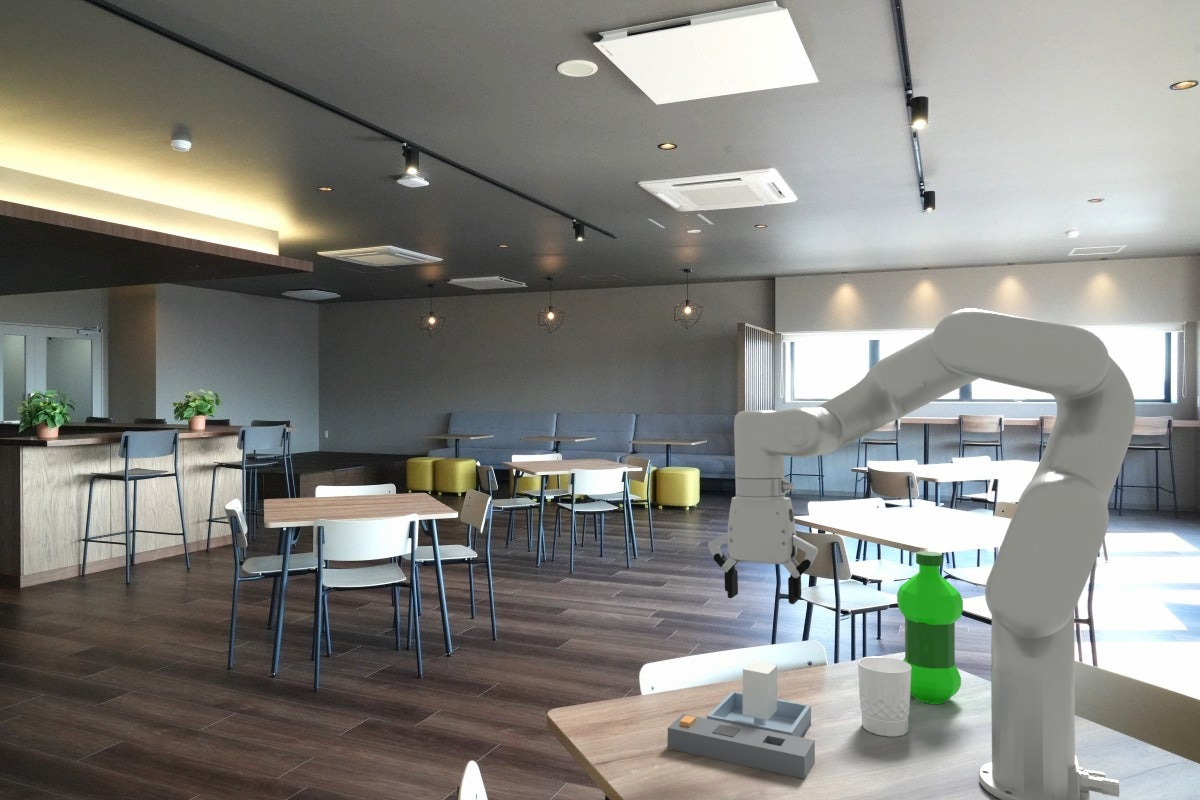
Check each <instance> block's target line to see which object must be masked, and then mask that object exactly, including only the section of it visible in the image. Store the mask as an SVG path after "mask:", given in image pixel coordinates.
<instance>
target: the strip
mask: <svg viewBox="0 0 1200 800" xmlns="http://www.w3.org/2000/svg"><path fill="white" fill-rule="evenodd" d="M815 744H816V743H815V739H811V738H806V737H797V736H792V735H787V734H782V733H777V732H772V731H767V730H762V729H756V728H751V727H746V726H741V725H736V724H731V723H726V722H721V721H716V720H711V719H707V717H701V716H694V715H691V714H686V713H682V714H681V715H680V716H679V717H677V719H676V720H674V721H673V722H672V723H671V724H670V725H669V726H668V727H667V749H668V748H671V749H670V750H673V749H675V750H674V751H678V752H681V753H682V752H683V753H686V754H687V753H688V754H692V755H695V756H700V757H705V758H709V759H713V760H718V761H721V762H727V763H732V764H736V765H740V766H745V767H747V768H748V767H749V768H753V769H759V770H764V771H766V772H771V773H776V774H781V775H784V776H789V777H793V778H797V779H803V780H805V779H807V778H806V777H807V776H808V775H809V773H810V771H811V769H812V767H813V765H814V764H815V762H816V755H815V754H816V753H815V750H816V745H815Z"/></svg>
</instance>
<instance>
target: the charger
mask: <svg viewBox="0 0 1200 800" xmlns="http://www.w3.org/2000/svg"><path fill="white" fill-rule="evenodd" d="M742 693H743V715H746V716H751V717H754V724H759V725H764V726H765V725H766V720H768V719H769V718H770V717H771V716H772V715H773V714H774V713H775V712H776V711H777V699H778V664H777V665H776V664H770V663H768V662H767V663H765V662H762V661H761V662H760V661H755V660H752V661H751V662H749V664H747V665H746V666H745V667H744V668H743V669H742Z"/></svg>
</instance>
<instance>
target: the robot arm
mask: <svg viewBox="0 0 1200 800" xmlns="http://www.w3.org/2000/svg"><path fill="white" fill-rule="evenodd" d="M979 379H982V380H987V381H990V382H995V383H1000V384H1003V385H1004V384H1005V385H1009V386H1013V387H1017V388H1018V387H1019V388H1022V389H1023V388H1024V389H1028V390H1033V391H1036V392H1042V393H1045V394H1050V395H1051V396H1052V397H1053V398H1054V400H1055V402H1056V417H1055V421H1054V423H1053V426H1052V429H1051V431H1050V434H1049V436H1048V439H1047V443H1046V446H1045V449H1044V451H1043V453H1042V456H1041V459H1040V461H1039V463H1038V466H1037V468H1036V470H1035V472H1034V474H1033V477H1032V479H1031V481H1030V482H1029V483H1028V485H1027V486H1025V488H1024V490H1023V491H1022V493H1021V495H1020V498H1019V499H1018V502H1017V504H1016V506H1015V510H1014V512H1013V514H1012V517H1011V520H1010V522H1009V524H1008V527H1007V529H1006V532H1005V535H1004V538H1003V540H1002V543H1001V545H1000V547H999V550H998V553H997V555H996V556H995V557H996V558H995V560H994V563H993V565H992V568H991V570H990V572H989V575H988V577H987V580H986V582H985V588H984V592H985V593H984V595H985V596H984V597H985V602H986V605H987V608H988V610H989V612H990V615H991V635H990V636H991V647H990V648H991V658H990V659H991V664H990V665H991V666H990V671H991V672H990V673H991V674H990V676H991V679H990V682H991V689H990V690H991V692H990V695H991V698H990V699H991V704H990V706H991V762H987V763H984V764H983V765H982V766H981V767H980V768H979V770H978V779H979V783H980V784H981V786H982V788H983V789H985V790H986V791H987V792H988V793H989V794H991V795H993V796H994V797H995V798H997V799H999V800H1091V797H1090V792H1095V793H1100V794H1102V795H1106V796H1110V797H1115V798H1120V783H1119V780H1117V779H1111V778H1106V773H1105V772H1103V771H1098V770H1090V769H1084V766H1082V765H1081V766H1080V765H1079V762H1078V757H1077V756H1078V755H1076V733H1075V732H1076V730H1075V728H1076V727H1075V726H1076V725H1075V724H1076V723H1075V722H1076V721H1075V720H1076V719H1075V717H1076V715H1075V714H1076V712H1075V711H1076V709H1075V708H1076V707H1075V705H1076V703H1075V701H1076V700H1075V677H1076V676H1075V673H1076V670H1075V667H1076V666H1075V665H1076V664H1075V659H1076V657H1075V610H1076V607H1077V605H1078V603H1079V601H1080V597H1081V596H1082V593H1083V591H1084V588H1085V586H1086V584H1087V582H1088V579H1089V577H1090V574H1091V572H1092V570H1093V567H1094V565H1095V562H1096V560H1097V557H1098V555H1099V553H1100V551H1101V548H1102V546H1103V543H1104V541H1105V537H1106V535H1107V531H1108V528H1109V523H1110V520H1109V519H1110V513H1109V508H1108V503H1109V501H1110V498H1111V494H1112V492H1113V489H1114V486H1115V484H1116V481H1117V479H1118V476H1119V474H1120V471H1121V469H1122V468H1121V467H1122V466H1123V463H1124V460H1125V457H1126V454H1127V451H1128V448H1129V445H1130V443H1131V440H1132V436H1133V433H1134V430H1135V424H1136V401H1135V400H1136V399H1135V397H1134V393H1133V390H1132V387H1131V384H1130V382H1129V380H1128V378H1127V376H1126V374H1125V373H1124V371H1123V370H1122V368H1121V367H1120V366H1119V365H1118V363H1117V362H1116V361H1115V360H1114V359H1113V358H1112V357H1111V356H1110V355H1109V351H1108V348H1107V346H1106V345H1105V343H1104V342H1103V341H1102V339H1100V337H1098V335H1096V334H1095V333H1093V332H1092V331H1090V330H1087V329H1085V328H1082V327H1080V326H1075V325H1070V324H1065V323H1064V324H1063V323H1059V322H1058V323H1057V322H1051V321H1045V320H1040V319H1034V318H1028V317H1023V316H1022V317H1021V316H1015V315H1012V314H1011V315H1010V314H1005V313H999V312H995V311H989V310H984V309H978V308H964V309H963V308H962V309H959V310H955V311H953V312H951V313H948V315H946V316H945V317H943V318H942V319H941V320H940V321H939V323H937V325H936V327H935V328H934V330H933V331H932V332H930V333H928V334H927V335H925V336H923V337H922V338H920V339H917V340H916V341H914V342H912V343H911V344H908V345H906V346H905V347H903V348H901V349H899V350H897V351H896V352H894V353H891V354H889V355H888V356H886V357H884V358H883V359H880V360H879V361H877V362H876V363H875V364H874V365H872V366H871V368H870V369H869V370H868V372H867V373H866V374H865V376H864V377H863V378H862V379H861V380H860V381H859V382H858V383H856V384H855V385H854V386H852V387H850V388H849V389H847V390H846V391H844V392H842V393H841V394H839V395H837V396H835V397H833V398H831V399H829V400H827V401H826V402H823V403H821V404H819V405H817V406H815V407H811V406H810V407H809V406H808V407H796V408H789V409H783V410H772V409H770V410H769V409H768V410H766V409H760V410H759V409H757V410H755V409H753V410H741V411H739V412H738V413H736V414H735V416H734V419H733V430H734V433H733V434H734V438H733V439H734V470H735V474H734V475H735V496H734V497H733V496H732V497H731V501H730V502H731V503H730V507H729V515H728V523H727V532H726V533H725V534H723V535H721V536H718V537H717V538H715V539H713V540H711V541H709V542H708V543H707V547H708V549H709V551H710V553H711V555H712V557H713V561H714V562H715V563H716V564H717V565H718V566H719V567H720V569H721V571H722V572H723V573H724V591H725V592H727V593H726V594H727V599H733V598H734V597H736V596H737V595H738V594H739V577H738V575H739V573H738V570H737V569H736V566H737V565H738V563H739V562H741V563H742V562H743V563H753V564H756V563H757V564H768V565H769V564H771V565H783V566H784V568H785V569H786V571H787V572H788V573H789V574H790V576H789V577H788V578H787V585H788V586H787V589H788V590H787V591H788V592H787V593H788V603H789V604H790V605H795V604H796V603H797V602H798V600H799V599H800V598H802V574H804V573H805V572H806V571H807V570H808V569H809V568H810V567H811V566H812V565H813V562H814V560H815V559H816V557H817V555H818V553H819V548H818V547H817V546H815V545H813V544H811V543H810V542H808V541H806V540H804V539H802V538H801V537H798V536H797V532H796V531H797V530H796V523H795V522H796V521H795V515H794V509H793V504H792V503H793V502H792V500H791V497H785V495H786V494H787V493H789V492H794V490H795V484H794V481H793V482H792V481H791V482H790V481H787V479H786V477H785V457H790V458H798V459H805V458H813V457H818V456H823V455H828V454H831V453H832V452H835V451H836V450H838V449H841V448H842V447H845V446H847V445H849V444H850V443H853V442H856V440H859V439H861V438H863V437H865V436H866V435H868V434H870V433H873V432H874V431H876V430H878V429H879V428H882V427H883V426H885V425H887V424H890V423H892V422H894V421H897V420H900V419H902V418H903V417H904V416H907V415H908V414H910V413H913V412H915V411H916V410H918V409H920V408H922V407H924V406H927V405H928V404H930V403H932V402H933V401H935V400H938V399H939V398H941V397H944V396H946V395H947V394H949V393H952V392H954V391H956V390H958V389H960V388H962V387H965V386H966V385H968V384H970V383H973V382H974V381H976V380H979ZM726 543H727V555H728V558H727V557H726V555H725V554H724V553H723V552H722V551H721V546H723V545H725V544H726ZM798 549H799V550H801V551H803V552H804V553H805V556H804V558H803V560H802V561H801V562H800V563H799V562H798V561H797V560H796V558H797V555H798Z"/></svg>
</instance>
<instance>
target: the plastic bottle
mask: <svg viewBox="0 0 1200 800" xmlns="http://www.w3.org/2000/svg"><path fill="white" fill-rule="evenodd" d="M943 557H944V556H943V554H942V553H940V552H936V551H926V550H925V551H924V550H923V551H917V552H915V563H916V564H917V565H919V567H918V568H919V571H918V573H916V574H914V575H913V576H912V577H911V578H909V579H908V580H907V581H905V582H904V583H903V584H902V585H900V587H899V588H898V590H897V594H896V601H897V602H896V603H897V606H898V610H899V611H900V612H901V614H902V615H903V616H904V648H905V649H904V658H903V660H902V661H904V662H906V663H908V664H910V665H911V667H912V669H911V694H910V696H912V697H913V698H914V697H915V698H914V699H915V700H916V699H917V700H916V701H918V700H919V702H921V701H922V702H921V703H924V702H926V703H925V704H929V703H931V704H930V705H942V704H941V703H943V704H945V703H946V702H947V701H948V700H950V699H951V698H952V697H953V696H956V694H957V693H958V692H959V690H960V688H961V686H962V677H961V675H960V672H959V669H958V668H957V665H956V660H955V659H956V657H955V656H956V654H955V651H956V649H955V648H956V647H955V646H956V644H955V643H956V642H955V634H956V633H955V630H956V629H955V627H956V625H955V624H956V623H955V622H957V621H958V620H959V619H960V618H961V617H962V615H963V609H964V601H963V598H962V595H961V593H960V592H959V591H958V590H957V589H956V588H955V587H954V586H953V585H952V584H951V583H950V582H949V581H948V580H947V579H946V578H945V577H943V576H942V574H940V567H941V566H943V563H944V562H943V561H944V560H943V559H944V558H943ZM945 701H946V702H945ZM944 702H945V703H944Z"/></svg>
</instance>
